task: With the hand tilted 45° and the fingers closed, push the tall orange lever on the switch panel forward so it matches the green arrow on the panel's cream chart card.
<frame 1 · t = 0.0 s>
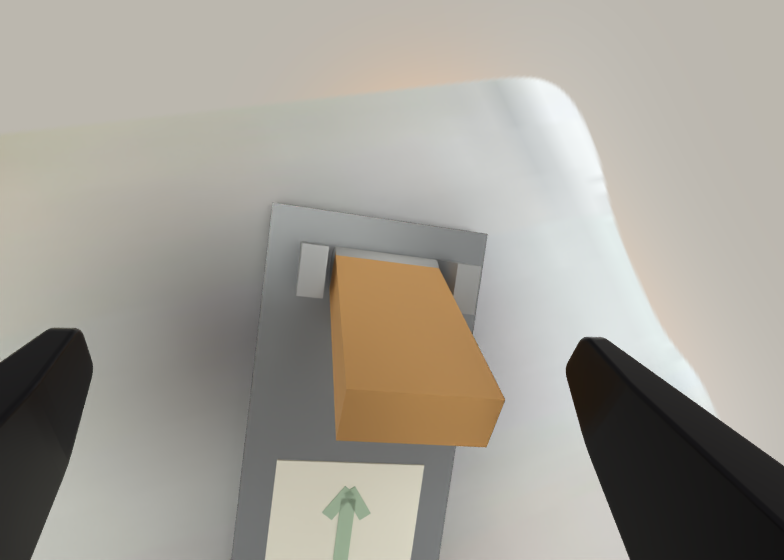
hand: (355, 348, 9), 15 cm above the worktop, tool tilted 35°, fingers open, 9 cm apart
orange lever: (395, 324, 17), point 7 cm above the worktop, hinge at -22.0°
switch panel: (371, 269, 24), on the worktop
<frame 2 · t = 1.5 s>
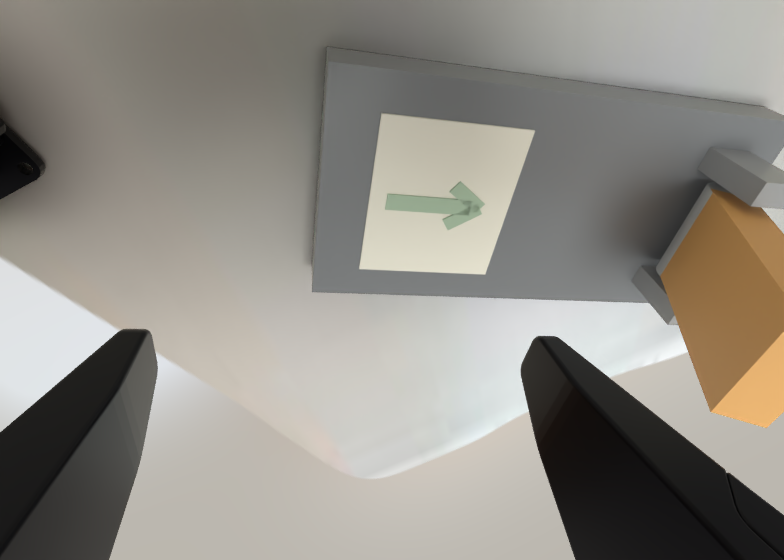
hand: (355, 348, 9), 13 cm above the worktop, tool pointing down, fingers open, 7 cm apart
orange lever: (730, 286, 18), point 7 cm above the worktop, hinge at -22.0°
switch panel: (660, 201, 24), on the worktop
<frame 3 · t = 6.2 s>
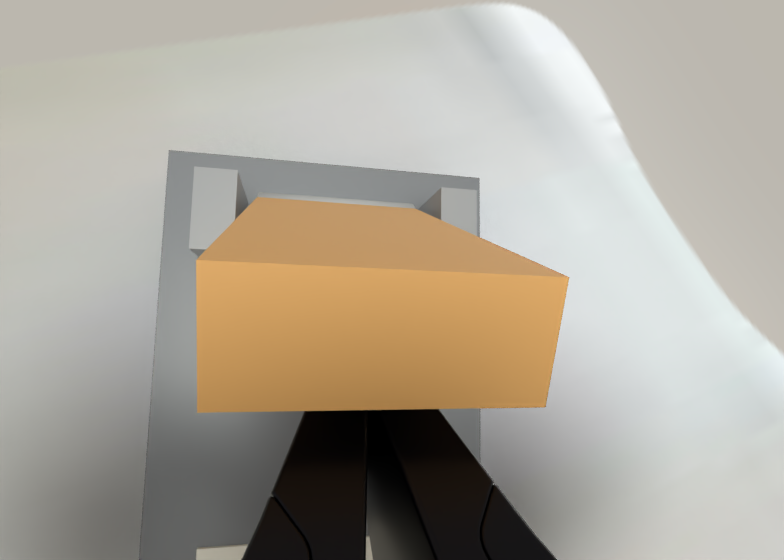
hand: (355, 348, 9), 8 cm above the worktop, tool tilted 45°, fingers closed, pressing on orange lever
orange lever: (349, 259, 10), point 7 cm above the worktop, hinge at -20.4°, touching gripper
switch panel: (327, 251, 17), on the worktop
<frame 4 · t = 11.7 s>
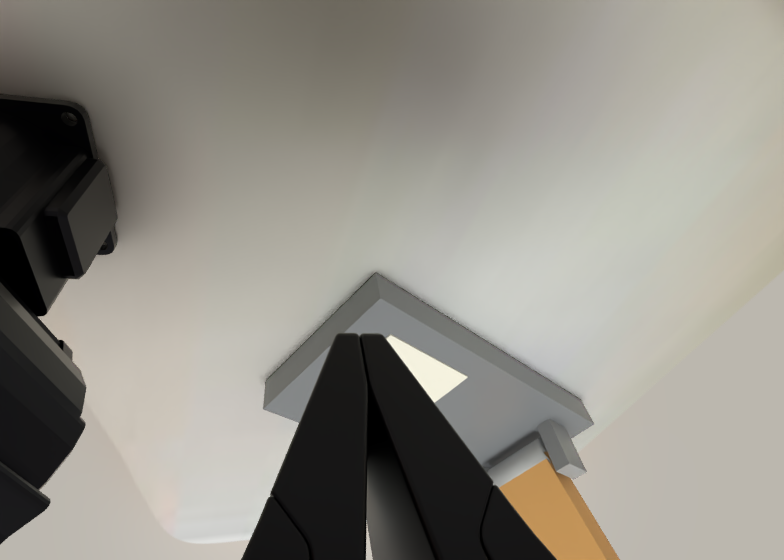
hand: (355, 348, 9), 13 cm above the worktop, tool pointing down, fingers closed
orange lever: (554, 525, 30), point 7 cm above the worktop, hinge at 20.4°
switch panel: (506, 425, 35), on the worktop
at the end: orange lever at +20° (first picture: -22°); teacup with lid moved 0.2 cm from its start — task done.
